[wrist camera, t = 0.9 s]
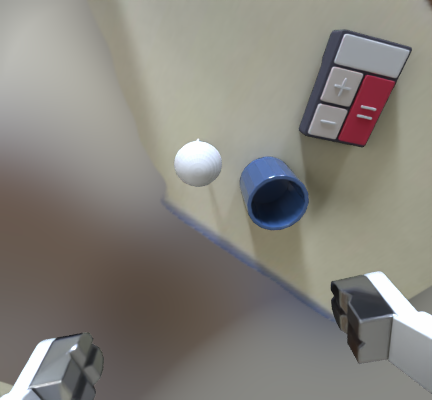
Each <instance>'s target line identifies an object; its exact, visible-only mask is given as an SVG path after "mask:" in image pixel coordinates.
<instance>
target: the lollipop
mask: <svg viewBox="0 0 432 400" xmlns="http://www.w3.org/2000/svg"><path fill="white" fill-rule="evenodd" d="M174 166H175V171H176V174H177V175H178V177H179V178H180V179H181V180H182V181H183V182H185V183H186V184H189V185H191V186H195V187H201V186H205V185H208V184H210V183H211V182H213V181H214V180H215V179H216V178H217V177H218V175H219V174H220V171H221V167H222V160H221V156H220V154H219V152H218V151H217V150H216V149H215V148H214V147H213V146H211V145H210V144H208V143H205V142H201V141H199V139H197V141H195V142H191V143H188V144H186V145H185V146H184V147H182V148H181V149H180V150H179V152H178V153H177V155H176V157H175V164H174Z"/></svg>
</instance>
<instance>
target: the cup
mask: <svg viewBox="0 0 432 400" xmlns="http://www.w3.org/2000/svg"><path fill="white" fill-rule="evenodd" d="M240 189H241V193H242V196H243V199H244V202H245V205H246V208H247V211H248V214H249V216H250V218H251V219H252V221H253V222H254V223H255V224H257V225H258V226H259V227H261V228H264V229H268V230H281V229H284V228H287V227H290V226H292V225H293V224H295V223H296V222H297V221H299V220H300V219H301V217H302V216H303V215H304V213H305V212H306V209H307V206H308V203H309V198H308V192H307V190H306V188H305V186H304V184H303V183H302V182H301V181H300V180H299V178H298V177H297V176H296V175H295V174H294V173H293V171H292V170H291V169H290V168H289V167H288V166H287V165H286V164H285V163H284V162H283V161H281V160H280V159H277V158H274V157H262V158H259V159H256V160H254V161H252V162H251V163H250V164H249V165H248V166H247V167H246V168H245V169H244V171H243V172H242V174H241V177H240Z"/></svg>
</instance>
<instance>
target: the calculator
mask: <svg viewBox="0 0 432 400" xmlns="http://www.w3.org/2000/svg"><path fill="white" fill-rule="evenodd" d="M411 51H412V48H411V47H409V46H405V45H401V44H397V43H394V42H390V41H386V40H383V39H379V38H375V37H372V36H368V35H364V34H360V33H357V32H353V31H349V30H334V31H332V33H331V35H330V38H329V41H328V44H327V47H326V49H325V52H324V55H323V59H322V65H321V68H320V71H319V74H318V76H317V79H316V82H315V85H314V87H313V90H312V93H311V96H310V99H309V101H308V104H307V107H306V110H305V113H304V115H303V118H302V121H301V124H300V127H299V131H300V132H302V133H303V134H304V135H305V136H309V137H314V138H319V139H324V140H329V141H333V142H338V143H343V144H348V145H353V146H358V147H364V146H365V145H366V143H367V141H368V139H369V137H370V135H371V133H372V131H373V129H374V127H375V124H376V122H377V120H378V118H379V116H380V114H381V112H382V110H383V108H384V106H385V104H386V102H387V100H388V98H389V96H390V94H391V92H392V90H393V88H394V86H395V84H396V82H397V80H398V78H399V76H400V74H401V72H402V69H403V67H404V65H405V63H406V61H407V59H408V57H409V55H410V53H411Z"/></svg>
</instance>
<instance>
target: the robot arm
mask: <svg viewBox="0 0 432 400" xmlns="http://www.w3.org/2000/svg"><path fill="white" fill-rule="evenodd" d="M331 291H332V293H333V295H334V297H333V298H332V300H331V303H332V310H333V314H334V317H335V320H336V322H337V324H338V326H339V328H340V330H341V331H343V332H344V333H346V334H347V338H348V339H347V343H348V345H349V347H350V349H351V350H352V352H353V354H354V356H355V358H356V360H357V362H358V363H359V364H361V363H368V362H374V361H380V360H386V359H388V361H389V362H391V363H392V364H393V365H395V366H396V367H397V368H399V369H400V370H401V371H402V372H404V373H405V374H406V375H408V376H409V377H410V378H411V379H413V380H414V381H415V382H417V383H418V384H419V385H421V386H422V387H423V388H424V389H426V390H427V391H428V392H430V393H431V394H432V315H430V314H427V313H426V312H417V311H416V310H415V308H414V307H413V306H412V305H411V304H410V303H409V302H408V301H407V299H406V298H405V297H404V296H403V295H402V294H401V293H400V292H399V290H398V289H397V288H396V287H395V286H394V285H393V284H392V283H391V281H390V280H389V279H388V278H387V277H386V276H385V275H384V274H383V273H382V272H380V271H378V272H373V273H368V274H364V275H358V276H354V277H349V278H345V279H340V280H335V281H332V282H331ZM92 341H93V338H92V336H91V335H90V333H80V334H74V335H69V336H63V337H58V338H53V339H47V340H43V341H41V342H40V343H39V344H38V345H37V347H36V348H35V350H34V352H33V354H32V355H31V357H30V359H29V360H28V362H27V364H26V366H25V368H24V369H23V371H22V373H21V374H20V376H19V378H18V380H17V381H16V383H15V385H14V387H13V388H12V390H11V392H10V393H8V394H5V395H4V396H2V397H1V398H0V400H94V397H95V394H96V391H95V388H94V385H95V384H96V382H97V381H98V380H99V379H100V377H101V374H102V371H103V363H104V358H103V354H102V351H101V350H100V348H99V347H98V346H95V345H94V344H92Z"/></svg>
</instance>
